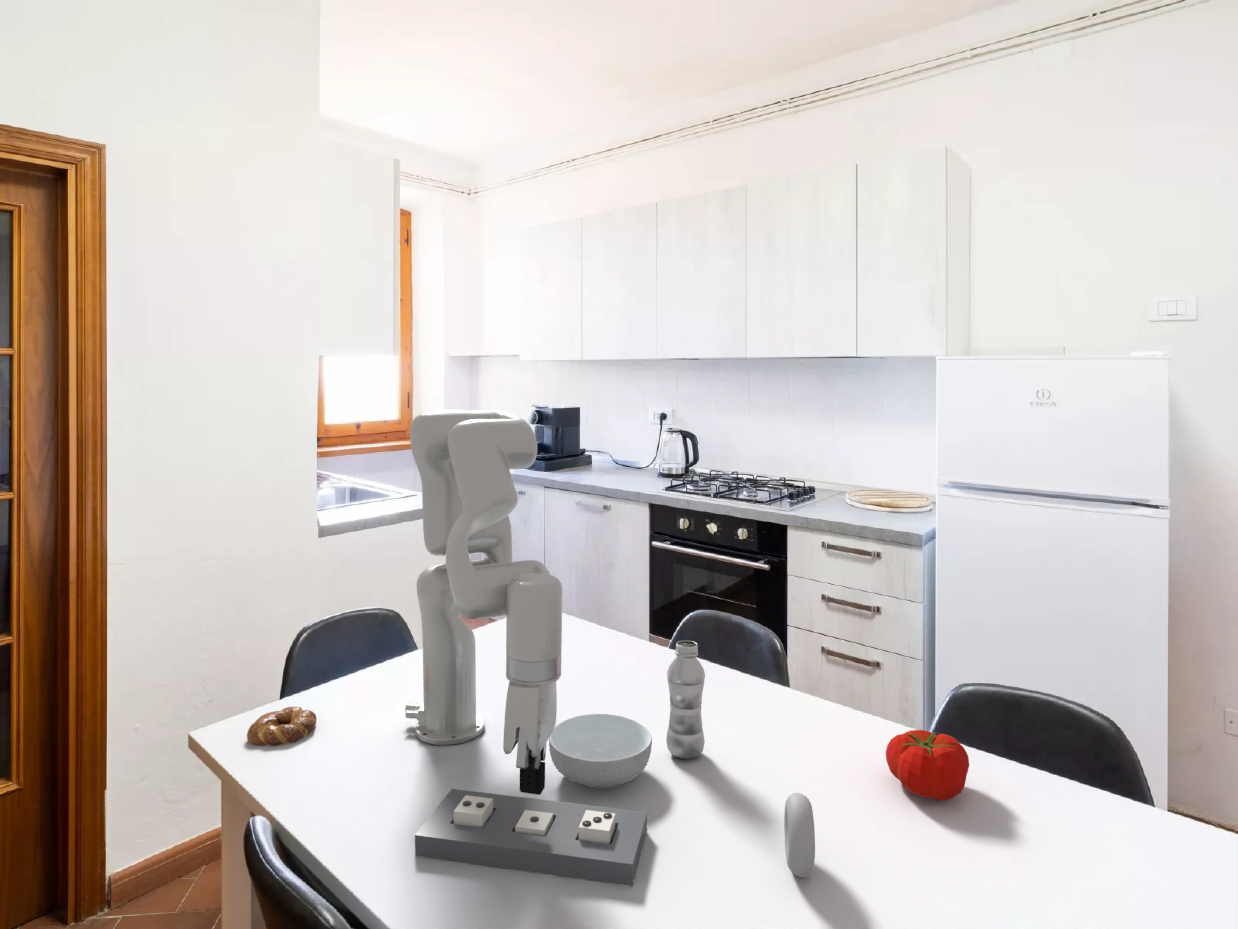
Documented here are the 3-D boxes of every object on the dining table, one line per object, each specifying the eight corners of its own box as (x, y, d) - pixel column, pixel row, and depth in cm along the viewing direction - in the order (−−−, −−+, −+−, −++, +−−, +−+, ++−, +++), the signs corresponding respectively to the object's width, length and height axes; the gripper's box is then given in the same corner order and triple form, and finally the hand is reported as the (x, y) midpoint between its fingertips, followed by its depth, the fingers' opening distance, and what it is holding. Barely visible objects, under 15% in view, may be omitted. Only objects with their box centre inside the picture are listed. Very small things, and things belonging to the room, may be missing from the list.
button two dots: (453, 827, 102) (453, 810, 102) (465, 810, 106) (465, 794, 106) (482, 831, 101) (482, 813, 101) (493, 814, 105) (493, 797, 105)
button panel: (415, 855, 99) (414, 835, 99) (451, 807, 111) (451, 788, 110) (632, 886, 93) (632, 864, 93) (646, 832, 105) (647, 812, 105)
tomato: (904, 760, 127) (907, 711, 126) (980, 788, 118) (984, 736, 117) (867, 789, 117) (869, 737, 116) (947, 822, 108) (950, 766, 107)
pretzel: (256, 756, 126) (255, 736, 126) (239, 734, 135) (238, 715, 134) (326, 735, 134) (325, 716, 134) (306, 715, 142) (305, 697, 142)
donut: (781, 845, 102) (784, 777, 101) (807, 847, 102) (809, 779, 101) (787, 892, 92) (790, 817, 91) (815, 895, 92) (818, 820, 91)
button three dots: (578, 843, 98) (578, 826, 98) (585, 826, 103) (586, 808, 102) (609, 847, 98) (609, 829, 97) (615, 829, 102) (615, 812, 101)
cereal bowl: (573, 814, 109) (574, 769, 109) (534, 764, 124) (534, 724, 123) (670, 787, 117) (671, 745, 117) (622, 743, 132) (622, 706, 131)
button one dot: (515, 843, 100) (515, 825, 100) (524, 825, 104) (524, 808, 104) (544, 847, 99) (544, 829, 99) (553, 829, 104) (553, 812, 103)
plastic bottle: (702, 765, 124) (705, 651, 122) (663, 761, 125) (665, 648, 124) (705, 748, 130) (708, 639, 129) (668, 744, 132) (670, 636, 130)
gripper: (525, 643, 108) (523, 760, 110) (487, 684, 93) (487, 818, 95) (574, 647, 106) (571, 766, 109) (544, 690, 92) (542, 826, 94)
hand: (532, 790), depth 102 cm, fingers closed
